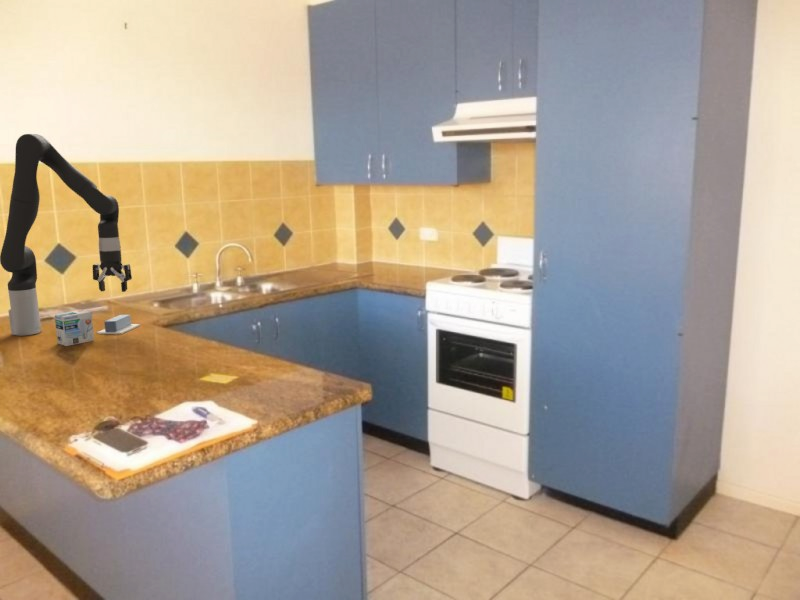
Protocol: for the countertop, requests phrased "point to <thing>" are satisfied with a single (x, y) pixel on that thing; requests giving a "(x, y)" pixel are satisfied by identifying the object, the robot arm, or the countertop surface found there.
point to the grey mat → (120, 330)
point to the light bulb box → (74, 327)
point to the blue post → (117, 323)
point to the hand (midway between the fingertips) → (113, 291)
